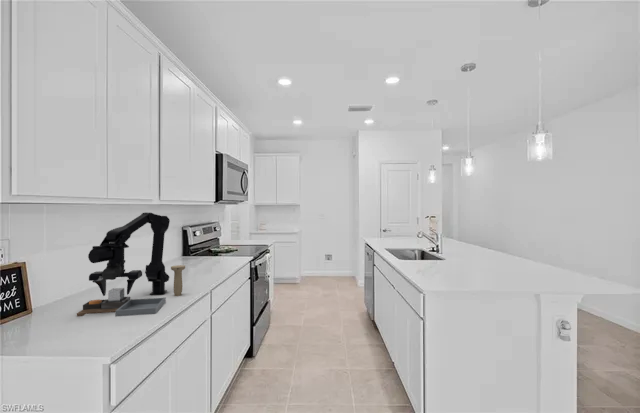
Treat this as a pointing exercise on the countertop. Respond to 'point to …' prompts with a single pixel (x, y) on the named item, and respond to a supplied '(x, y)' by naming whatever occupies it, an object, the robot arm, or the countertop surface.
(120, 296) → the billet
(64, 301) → the countertop surface
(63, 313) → the countertop surface
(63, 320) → the countertop surface
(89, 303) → the button
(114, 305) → the brown wood panel
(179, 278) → the handle
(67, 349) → the countertop surface
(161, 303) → the tote
